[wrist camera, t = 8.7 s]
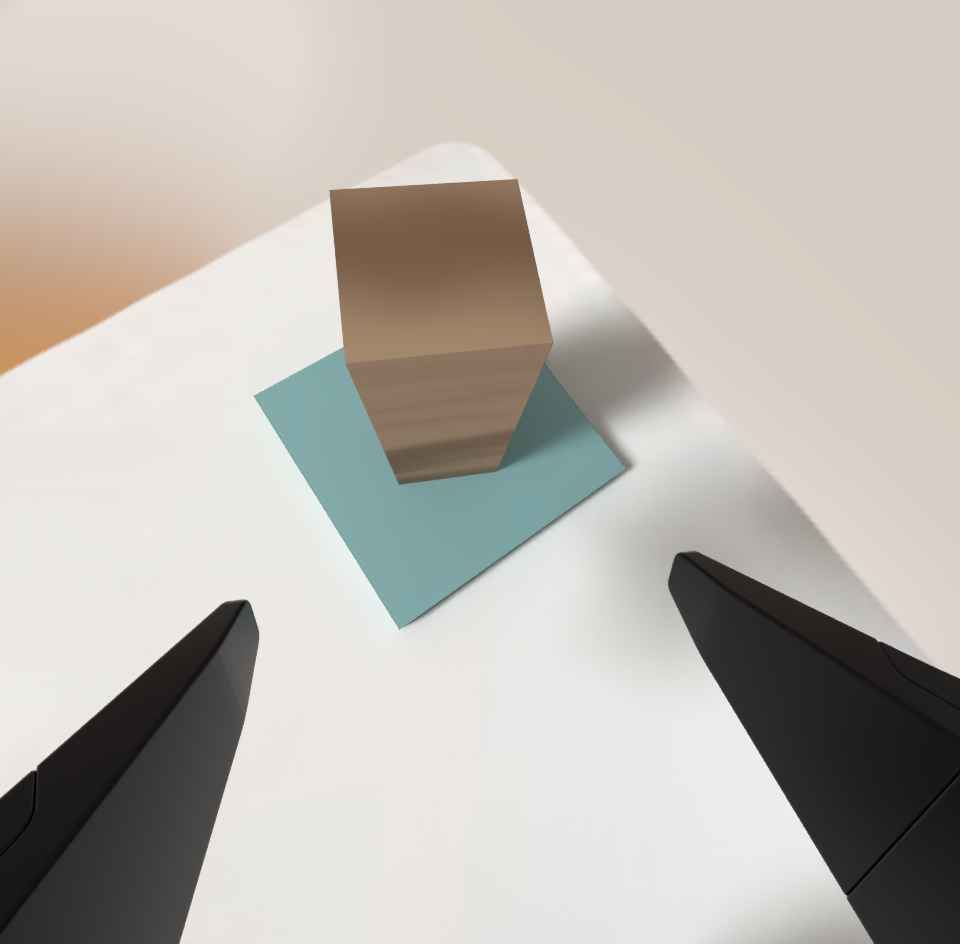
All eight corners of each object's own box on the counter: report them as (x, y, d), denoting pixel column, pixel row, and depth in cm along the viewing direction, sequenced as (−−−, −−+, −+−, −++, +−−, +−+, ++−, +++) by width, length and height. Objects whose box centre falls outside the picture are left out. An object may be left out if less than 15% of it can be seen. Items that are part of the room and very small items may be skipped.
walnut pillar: (496, 472, 23) (553, 342, 11) (398, 484, 22) (344, 363, 10) (481, 383, 24) (517, 178, 12) (388, 393, 24) (329, 190, 12)
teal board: (618, 473, 24) (625, 468, 24) (401, 627, 22) (399, 629, 21) (474, 286, 27) (475, 275, 26) (261, 403, 24) (253, 395, 23)
